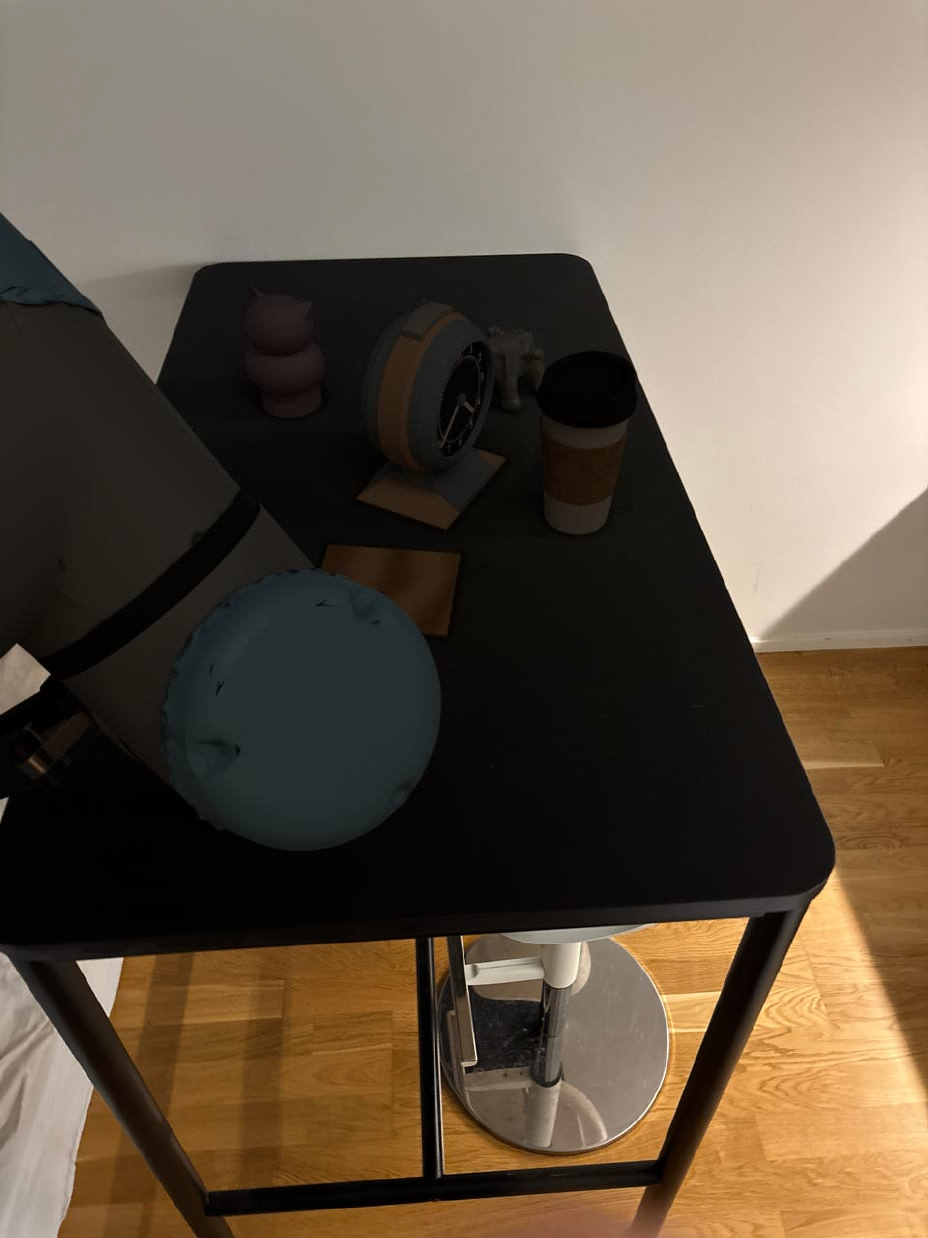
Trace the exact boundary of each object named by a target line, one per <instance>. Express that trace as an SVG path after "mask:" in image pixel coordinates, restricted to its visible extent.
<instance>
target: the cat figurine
mask: <svg viewBox="0 0 928 1238" xmlns="http://www.w3.org/2000/svg"><path fill="white" fill-rule="evenodd" d="M249 287H250V300H251V304H250V305H249V306H248V308H247V310H246V312H245V315H244V318H243V329H244V333H245V334H246V337H247V339H248V341H249V342H250V345H249V346H248V348H247V350H246V352H245V357H244V361H243V362H244V369H245V371H246V373H247V376H248V378H249V380H250V381H251V382H252V383H253V384H254V385H255V386H256V387H258V388H259V389H260V393H259V394H260V399H261V405H262V408H263V410H264V411H265V412H266V413H267V414H269V415H271V416H273V417H276V418H281V419H295V418H300V417H304V416H307V415H309V414H312V413H314V411H316V410H317V409H318V408H319V407H320V405H322V401H323V398H322V389H321V386H320V383H319V382H320V381H321V380H322V379H323V376H324V374H325V369H326V358H325V355H324V353H323V352H322V350H321V348H320V346H319V344H318V343H316V342H315V341H314V340H313V335H314V329H315V323H314V319H313V316H312V314H311V313H312V309H313V304H314V301H313V300H312V301H300V300H299V299H297V298H296V297H295V296H294V297H293V296H291V295H289V294H284V293H268V294H265V293H263V292H262V291H260V290H259V289H257V288H255V287H254V286H252V285H250V286H249Z"/></svg>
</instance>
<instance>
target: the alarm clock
mask: <svg viewBox="0 0 928 1238" xmlns="http://www.w3.org/2000/svg"><path fill="white" fill-rule="evenodd" d="M453 310H454V309H453V306H452V305H449V304H445V303H441V302H436V301H429V302H426V303H424V304H422V305H420V306H419V307H418V308H416V309H415V310H411V311H409V312H407V313H405V314H402V315H400V316H399V317H397V318H396V319H394V320H392V322H390V324H389V325H388V326H387V327H386V328H385V329H384V330H383V332H382V334H381V335H380V337H379V338H378V340H377V342H376V344H375V345H374V348H373V350H372V352H371V354H370V358H369V360H368V363H367V367H366V370H365V374H364V378H363V383H362V391H361V418H362V423H363V428H364V430H365V432H366V434H367V437H368V439H369V440H370V441H371V443H372V444H373V446H374V447H375V448H376V449H378V450H379V451H380V452H381V453H382V454H384V455H385V456H386V458H387V459H388V461H386V463H385V464H384V465H383V466H382V467H381V468H380V469H379V470H378V471H377V472H376V473H375V474H374V475H373V476H372V477H371V478H370V479H369V483H368V485H367V486H366V487H365V488H364V489H363V490H362V491H361V492H360V493H359V494H358V495H357V496H356V499H355V500H357V501H359V502H362V503H366V504H369V505H371V506H374V507H378V508H380V509H384V510H386V511H388V512H392V513H395V514H398V515H400V516H404V517H407V518H410V519H412V520H415V521H418V522H421V523H423V524H427V525H430V526H432V527H435V528H438V529H442V530H444V531H447V530H448V529H449V528H450V526H451V525H452V524H453V523H454V522H455V521H456V519H457V518H458V517H459V516H460V515H461V514H462V512H463V511H464V510H465V509H466V507H468V506H469V504H470V503H471V502H472V500H473V499H474V498H476V496H477V495H478V494H479V492H480V491H481V490H482V489H483V488H484V486H485V485H486V484H487V483H488V481H489V480H491V478H492V477H493V476H494V474H495V473H496V472H497V471H498V470H499V469H500V467H501V466H503V464H504V462H506V460H507V459H506V457H504V456H501V455H499V454H498V455H497V454H494V453H492V452H488V451H485V450H482V449H480V448H475V447H473V445H474V443H475V442H476V440H477V438H478V436H479V434H480V433H481V430H482V428H483V425H484V423H485V421H486V419H487V418H486V417H487V415H488V412H489V408H490V405H491V401H492V396H493V390H494V383H495V382H494V355H493V351H492V347H491V343H490V342H489V340H488V339H489V338H488V337H487V335H486V334H485V333H484V332H483V330H482V329H481V328H480V327H479V326H477V325H475V324H473V323H472V322H471V321H470V320H469V319H468V317H466V316H465V315H463V314H461V313H460V312H457V311H453Z"/></svg>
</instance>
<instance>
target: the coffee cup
mask: <svg viewBox="0 0 928 1238" xmlns="http://www.w3.org/2000/svg"><path fill="white" fill-rule="evenodd" d="M637 400H638V392H637V390H636V371H635V368H634V367H633V365H632V363H630V362H629V360H628V359H626V358H625V357H623V356H621V355H617V354H615V353H613V352H609V351H603V350H585V351H580V352H575V353H572V354H569V355H566V356H563V357H561V358H559V359H557V360H555V361H554V362H553V363H551V364H549V366H548V367H547V368H546V369H545V372H544V374H543V378H542V383H541V384H540V386H539V388H538V393H537V395H536V402H537V406H538V408H539V410H540V411H541V415H540V418H539V435H540V454H541V455H540V456H541V474H542V485H543V486H542V487H543V489H542V491H543V516H544V518H545V520H546V522H547V524H549V526H551V527H552V528H553V529H555V530H557V531H559V532H562V533H564V534H569V535H576V536H577V535H578V536H579V535H587V534H591V533H594V532H597V531H598V530H600V529H601V528H602V527H603V526H604V525H605V524H606V522H607V520H608V516H609V512H610V508H611V503H612V498H613V494H614V490H615V486H616V483H617V479H618V476H619V475H618V474H619V470H620V467H621V463H622V459H623V455H624V452H625V447H626V443H627V439H628V435H629V431H630V422H629V421H630V418H631V417H632V416H633V414H634V413H635V412H636V409H637V405H638V404H637V403H638V401H637Z"/></svg>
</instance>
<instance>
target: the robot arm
mask: <svg viewBox="0 0 928 1238" xmlns="http://www.w3.org/2000/svg"><path fill="white" fill-rule="evenodd" d="M16 645H18V646H19V647H20V648H22V649H23V650H24V651H25V652H26V653H28V655H30V656H31V657H32V658H34V660H35V661H36V662H37V663H38V664H39V665H40V666H41V667H42V668H43V669H44V670H45V671H46V672H48V674H49V675H48V676H47V678H45V680H44V681H43V682H42V683H41V684H40V685H39V688H38V689H39V690H38V691H37V692H35V693H34V694H32V695H30V696H28V697H27V698H25V699H24V700H22V701H21V702H19V703H17V704H15V705H14V706H12V707H10V708H8V709H7V710H6V711H4V712H2V713H1V714H0V801H1V800H4V799H7V798H11V797H14V796H16V795H19V794H22V793H25V792H27V791H31V790H34V789H37V788H39V789H41V790H43V791H46V792H51V791H53V790H54V789H56V788H59V787H60V786H62V785H63V784H64V782H66V779H67V778H68V775H69V774H70V769H69V768H68V767H67V766H69V765H70V764H71V762H72V757H71V756H70V755H69V754H67V751H68V750H70V749H71V747H72V746H74V744H76V743H77V742H78V741H79V740H80V739H81V737H83V736H84V737H86V738H98V737H100V736H103V737H105V738H106V739H108V740H109V741H110V742H111V743H113V744H114V745H116V746H117V747H119V748H120V749H121V750H122V751H123V752H124V753H126V754H127V755H128V756H130V757H132V758H133V759H134V760H136V761H137V762H139V763H140V764H142V765H143V766H144V767H145V768H146V769H148V770H150V771H152V772H153V773H154V774H155V775H156V776H158V777H159V778H160V779H161V780H162V781H163V782H164V783H165V784H167V785H168V786H170V787H171V788H172V789H173V790H174V791H175V792H176V793H177V794H178V795H179V796H180V797H181V798H182V799H183V800H184V801H185V802H186V803H187V804H188V805H189V806H190V807H191V808H192V809H193V810H194V811H195V812H196V813H197V815H198V814H199V815H200V816H202V817H203V818H204V819H203V820H205V821H206V822H207V823H208V824H209V825H211V826H212V827H213V828H215V829H217V830H219V831H224V830H227V831H229V832H231V833H234V834H235V835H238V836H240V837H243V838H245V839H247V840H249V841H252V842H254V843H255V844H258V845H261V846H264V847H268V848H270V849H271V848H272V849H277V850H282V851H289V852H308V851H319V850H324V849H325V850H326V849H330V848H334V847H337V846H341V845H343V844H346V843H349V842H351V841H354V840H355V839H357V838H359V837H362V836H363V835H366V834H367V833H369V832H370V831H372V830H374V829H376V828H377V827H378V826H380V825H381V824H382V823H383V822H384V821H385V820H387V819H388V818H389V817H391V815H392V814H393V813H394V812H396V810H398V809H399V808H401V806H403V805H404V804H405V803H406V801H407V799H408V798H409V796H410V795H411V793H412V792H413V791H414V789H415V788H416V787H417V785H418V784H419V782H420V781H421V778H422V777H423V775H424V773H425V771H426V770H427V768H428V766H429V763H430V761H431V759H432V755H433V752H434V750H435V746H436V745H437V744H436V743H437V740H438V736H439V730H440V723H441V715H442V691H441V683H440V679H439V674H438V673H439V672H438V668H437V664H436V662H435V660H434V656H433V654H432V652H431V649H430V646H429V645H428V642H427V640H426V638H425V635H422V633H421V631H420V630H419V628H418V627H417V625H416V624H415V623H414V622H413V620H412V619H411V618H410V617H409V616H408V615H407V614H406V613H405V612H404V611H403V610H402V609H401V608H400V607H399V606H398V605H397V604H396V603H394V602H393V601H392V600H391V599H389V598H388V597H386V596H385V595H383V594H382V593H380V592H379V591H376V590H373V589H371V588H369V587H367V586H365V585H363V584H360V583H357V582H353V581H351V580H350V578H349V577H347V576H343V575H340V574H336V573H326V572H324V571H323V570H321V568H320V567H316V566H314V565H313V563H312V562H311V561H310V559H308V558H307V556H306V555H305V554H304V553H303V551H302V550H301V549H300V548H299V547H298V546H297V544H296V543H295V542H294V541H293V540H292V538H291V537H290V536H289V535H288V534H287V533H286V531H285V530H284V529H283V528H282V527H281V526H280V525H279V524H278V522H277V521H276V520H275V519H274V518H273V516H272V515H271V514H270V513H269V512H268V510H266V508H264V506H263V505H262V504H261V503H260V502H259V501H258V500H257V501H256V500H254V499H253V498H252V496H251V495H250V494H249V493H248V492H247V490H246V489H245V488H244V487H243V486H242V484H240V483H239V482H236V481H235V480H234V479H233V478H232V477H231V475H230V474H229V473H228V472H227V471H226V469H225V468H224V467H223V466H222V465H221V464H220V462H219V461H218V460H217V458H216V457H215V456H214V455H213V454H212V452H211V451H210V450H209V449H208V447H207V446H206V445H205V444H204V443H203V441H202V440H201V438H199V436H198V435H197V434H196V433H195V431H194V430H193V429H192V427H190V425H189V424H188V423H187V421H185V419H184V418H183V417H182V415H181V414H180V413H179V412H178V411H177V410H176V408H175V407H174V405H172V403H171V402H170V400H169V399H168V398H167V397H166V396H165V395H164V393H163V392H162V391H161V390H160V389H159V387H158V386H157V384H156V383H155V382H154V381H153V380H152V378H151V377H150V375H148V373H147V372H146V371H145V369H143V367H142V366H141V365H140V363H138V361H137V360H136V358H135V357H134V356H133V354H132V353H131V352H130V351H129V350H128V349H127V347H126V346H125V345H124V344H123V343H122V341H121V340H120V338H118V336H117V335H116V334H115V332H113V330H112V329H111V327H110V326H109V325H108V323H107V321H106V319H105V317H104V314H103V311H101V310H100V308H99V307H97V305H95V303H94V302H93V301H92V300H91V299H90V298H89V297H87V296H86V295H83V293H82V292H81V291H80V290H79V289H78V288H77V287H76V286H75V285H74V284H73V283H72V282H71V281H70V280H69V279H68V278H67V277H66V276H65V275H64V274H63V272H61V271H60V269H58V267H57V266H56V265H55V264H54V263H53V262H52V261H51V260H50V259H49V258H48V257H47V256H46V254H45V253H43V251H42V250H41V249H40V248H39V247H38V245H36V244H35V243H34V242H33V240H31V239H28V238H27V237H26V236H25V234H23V233H22V232H20V230H19V229H18V228H17V227H16V226H15V225H14V224H13V223H12V222H11V221H10V220H9V219H8V218H7V217H6V216H5V215H4V214H3V213H2V212H1V211H0V660H1V659H3V658H4V657H5V656H6V655H7V654H8V653H9V652H10V651H11V650H12V649H13V648H14V647H15V646H16ZM199 815H198V816H199Z"/></svg>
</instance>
